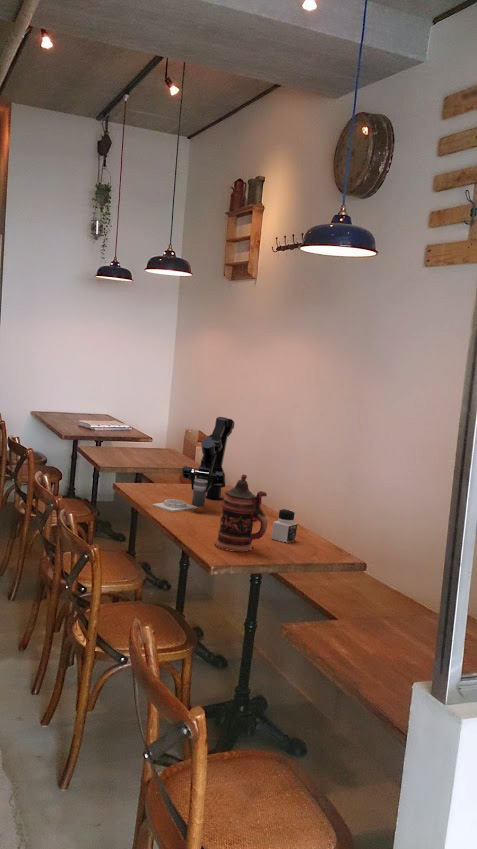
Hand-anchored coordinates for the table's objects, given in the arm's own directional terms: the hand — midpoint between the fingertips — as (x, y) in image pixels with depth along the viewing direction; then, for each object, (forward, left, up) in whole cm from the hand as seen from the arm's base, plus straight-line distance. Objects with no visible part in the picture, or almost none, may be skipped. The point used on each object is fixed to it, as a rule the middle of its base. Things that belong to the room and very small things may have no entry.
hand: (199, 490), depth 319 cm
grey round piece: (-1, -1, -7) cm, 7 cm away
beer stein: (+26, +44, -10) cm, 52 cm away
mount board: (+2, -11, -10) cm, 15 cm away
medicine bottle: (-1, +46, -10) cm, 47 cm away
